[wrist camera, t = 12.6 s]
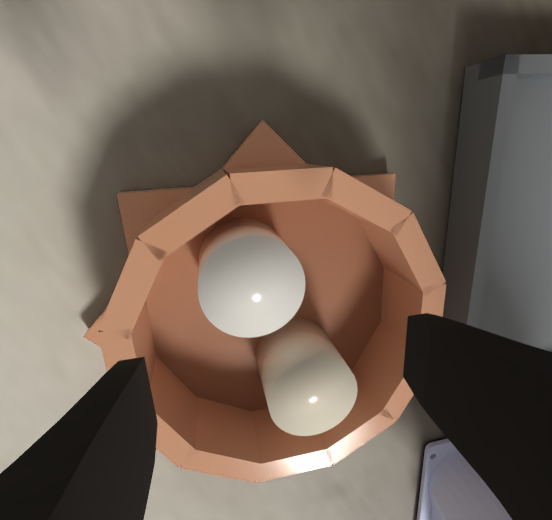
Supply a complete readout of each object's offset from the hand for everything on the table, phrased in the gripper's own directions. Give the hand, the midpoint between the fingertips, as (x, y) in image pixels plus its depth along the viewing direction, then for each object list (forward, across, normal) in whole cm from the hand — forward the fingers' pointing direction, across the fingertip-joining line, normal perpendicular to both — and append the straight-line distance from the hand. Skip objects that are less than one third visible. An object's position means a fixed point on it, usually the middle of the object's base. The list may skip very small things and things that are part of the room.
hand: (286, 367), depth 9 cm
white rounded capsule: (+9, 0, 0) cm, 9 cm away
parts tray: (+10, -19, +1) cm, 22 cm away
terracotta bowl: (+10, -1, +3) cm, 10 cm away
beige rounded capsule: (+9, -2, +6) cm, 11 cm away
